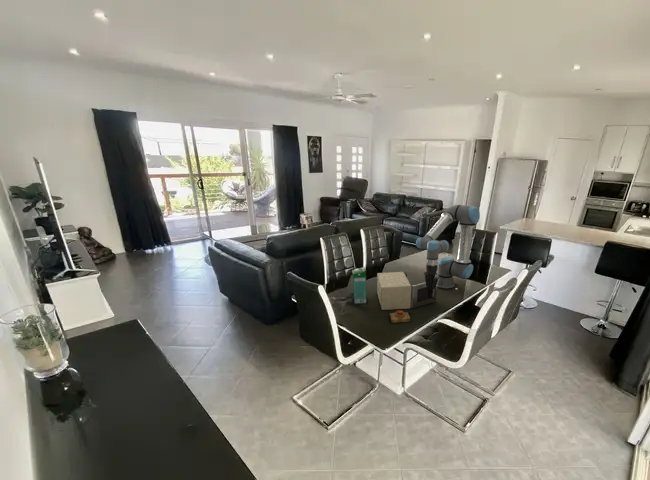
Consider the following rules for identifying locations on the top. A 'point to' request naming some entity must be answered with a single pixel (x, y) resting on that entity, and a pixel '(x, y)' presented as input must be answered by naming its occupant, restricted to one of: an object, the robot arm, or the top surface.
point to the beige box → (393, 290)
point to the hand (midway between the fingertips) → (430, 297)
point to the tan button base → (399, 317)
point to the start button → (399, 312)
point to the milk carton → (359, 285)
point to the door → (422, 295)
